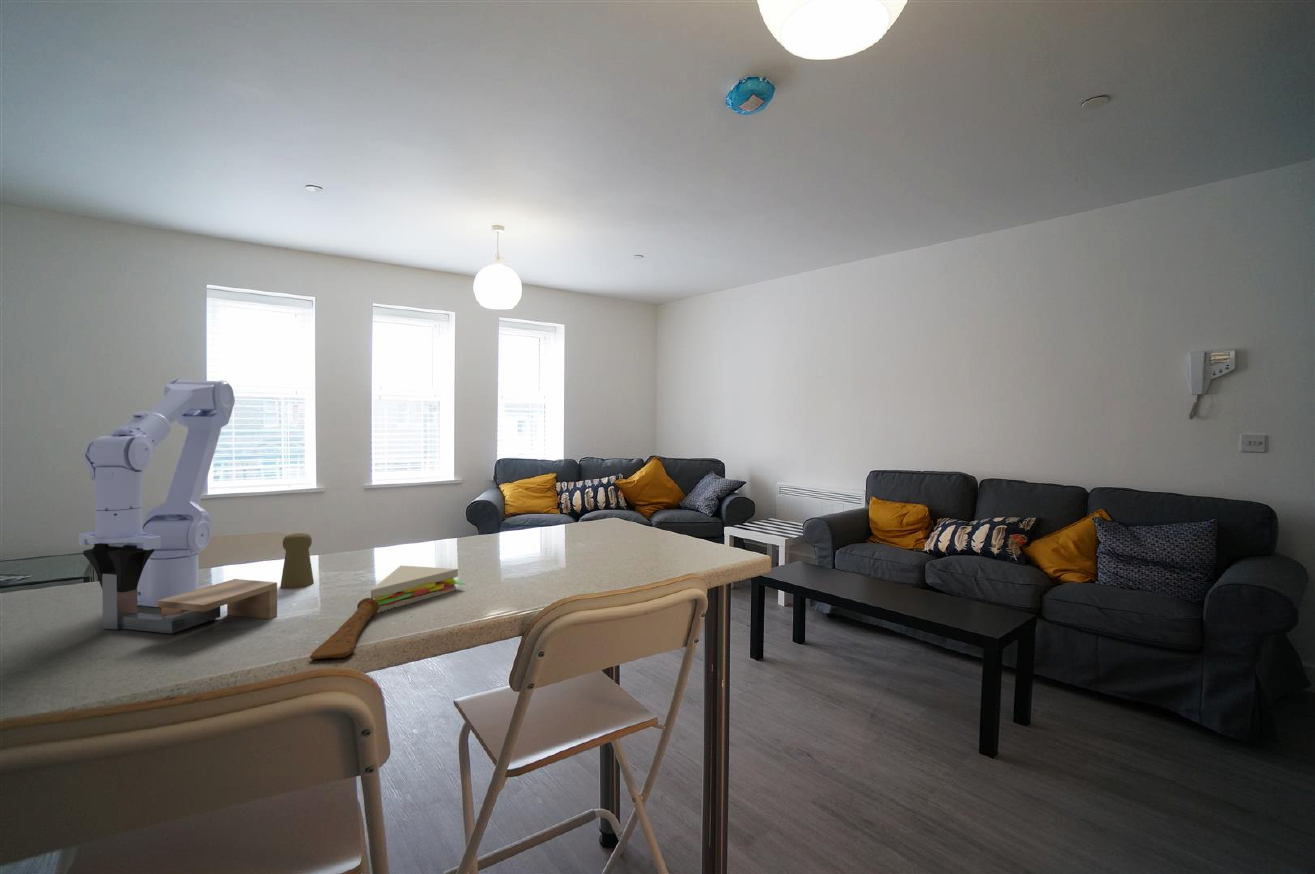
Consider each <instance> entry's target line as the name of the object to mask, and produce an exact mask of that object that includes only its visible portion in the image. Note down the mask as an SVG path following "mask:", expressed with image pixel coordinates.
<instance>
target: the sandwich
mask: <svg viewBox="0 0 1315 874" xmlns="http://www.w3.org/2000/svg"><path fill="white" fill-rule="evenodd" d="M458 576H459V568H448V567H445V568H444V567H431V566H430V567H427V566H413V565H400V566H398V567H397V568H396V569H395V570H393V571H392V572H391V573H390V574H389V575H388V576H386V577H385V578H384V579H382V581H380V582H379V583H378V584H377V585H375V586H374V587H373V588H371V590H370V598H373V599H374V600H375V601H377V602H378V604H379V610H378V611H382V612H384V610H385V611H388V610H387V609H389V610H391V609H390V608H392V609H394V608H393V607H396V608H399V607H402V606H405V604H406V605H409V604H412V603H416V602H420V601H422V599H423V600H426V599H431V598H434V597H436V596H440V595H443V594H446V593H450V592H454V591H456V590H457V586H456V585H466V583H464V582H462V581H460V580H457V579H454V578H458ZM419 600H420V601H419ZM401 605H402V606H401Z"/></svg>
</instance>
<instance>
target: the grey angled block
mask: <svg viewBox="0 0 1315 874" xmlns="http://www.w3.org/2000/svg"><path fill="white" fill-rule="evenodd" d="M101 591H102V592H101V593H102V629H106V630H116V631H118V630H121V629H122V630H129V631H130V630H132V631H139V632H140V631H141V632H142V631H143V632H152V633H161V634H170V635H171V634H175V633H178V632H182V631H184V630H187V629H190V628H192V627H196V626H198V625H201V624H204V623H207V622H210V621H213V620H215V619H219V618H221V606H220V607H217V608H214V609H210V610H207V611H204V612H203V611H193V610H184V611H180V612H177V613H174V614H171V615H168V616H167V615H161V614H155V613H154V614H153V613H144V612H138V606H139V605H137V588H136V590H132V591H128V592H124V593H121V592H120V591H119V589H118V585H117V575H116V571H113V572H108V573H103V574H102V588H101Z"/></svg>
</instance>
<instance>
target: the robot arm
mask: <svg viewBox="0 0 1315 874" xmlns="http://www.w3.org/2000/svg"><path fill="white" fill-rule="evenodd" d="M235 399H236V398H235V394H234V390H233V387H232V386H231V384H230V383H229V382H228V381H227V380H213V381H212V380H188V379H187V380H185V379H184V380H183V379H177V378H175V379H172V380H170V381H169V382H168V383H167V384H165V385H164V389H163V397H162V398H161V400H159V401H158V403H157V404H156V405H154V406H153V408H152V409H151V410H149V411H148V410H145V411H136V412H134V413H133V414H132V417H131V418H129V419H128V420H126V421H125V422H124V423H123V424H122V425H121V426H119V427H118V428H117V429H115V430H114V431H113V432H112V433H111V434H109V435H101V436H98V437H96V438H95V439H93V440H91V441H90V442H89V443H88V444H87V447H86V450H85V452H84V453H83V459H84V462H85V464H86V466H87V468H88V469H89V478H90V479H91V482H94V531H89V532H87V531H86V532H82V533H78V545H79V546H88V545H93V546H92V548H90V549H84V550H83V551H82V552H83V553H82V554H83V556H84V557H85V558H86V559H87V560H88V561H89V563H90V564H91V566H92V568H93V569H94V571H95V574H96V576H97V578H98V581H99V585H100V587H101V589H102V574H103V573H108V572H113V571H116V575H117V585H118V589H119V591H120V592H121V593H124V592H128V591H132V590H136V588H137V606H143V607H150V608H151V607H152V608H153V607H154V608H158V607H157V601H158V600H161V599H165V598H169V597H172V596H176V595H179V594H183V593H187V592H190V591H194V590H197V589H199V553H201V552H203V550H204V549H205V548H207V546H208V545H209V542H210V539H211V535H212V534H211V533H212V532H211V525H212V519H213V518H212V516H211V514H210V513H209V512H208V511H207V510H206V509H204V508H202V506H200V503H201V500H202V496H203V493H204V489H205V487H206V486H205V485H206V482H207V479H208V476H209V472H210V469H211V466H212V463H213V458H214V456H215V453H216V449H217V446H218V442H219V438H220V435H221V431H222V429H223V427H225V426H227V425H228V424H229V422H230V419H231V416H232V412H233V409H234V407H235V403H236V401H235ZM175 421H176V422H177V424H178V425H181V426H183V427H185V428H187V429H188V431H187V433H186V434H187V435H186V437H185V440H184V444H183V446H182V449H181V452H180V456H179V458H178V461H177V465H176V468H175V470H174V474H173V477H172V480H171V483H170V487H169V489H168V492H167V495H166V499H165V501H164V502H162V503H160V504H159V505H157V506H156V507H154V508H151V509H150V510H149V511H147V512H146V515H145V518H144V511H143V510H144V507H143V505H144V502H143V501H144V485H143V484H144V481H143V479H144V470H145V469H146V468H148V467H149V466H150V464H151V462H152V459H153V455H154V454H155V452H156V448H157V446H159V444H161V442H163V441H164V440H165V439H166V438H167V437H168V436H169V435H170V434H171V432H172V427H171V424H173V423H174V422H175Z"/></svg>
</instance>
